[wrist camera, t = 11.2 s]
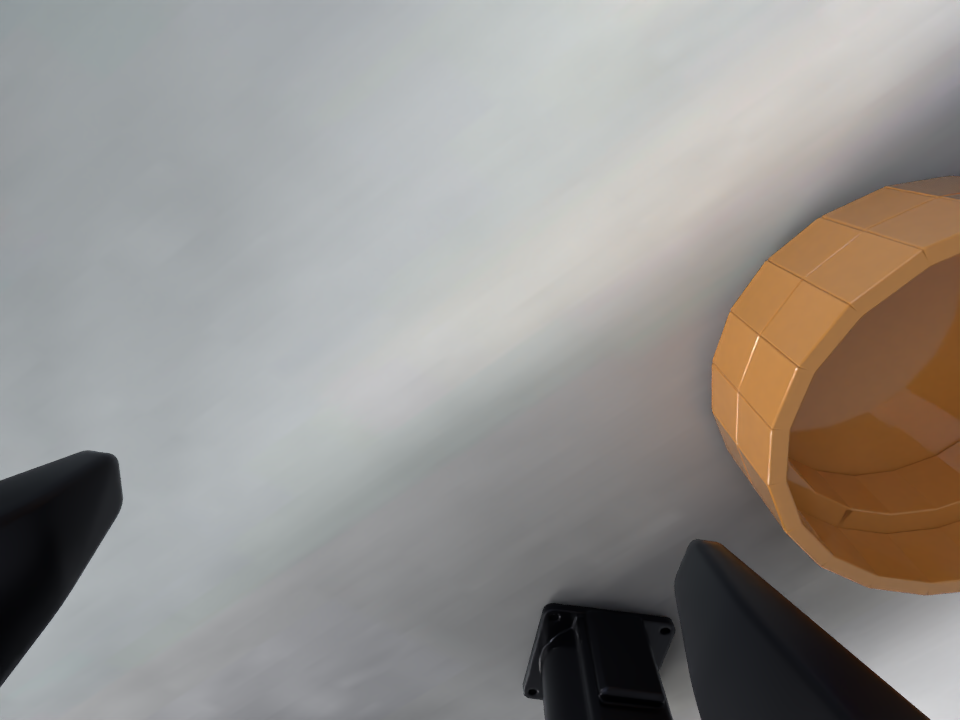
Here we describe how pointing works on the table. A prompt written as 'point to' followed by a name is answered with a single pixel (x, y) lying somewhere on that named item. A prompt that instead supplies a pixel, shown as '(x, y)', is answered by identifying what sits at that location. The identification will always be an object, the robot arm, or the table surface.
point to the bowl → (856, 388)
